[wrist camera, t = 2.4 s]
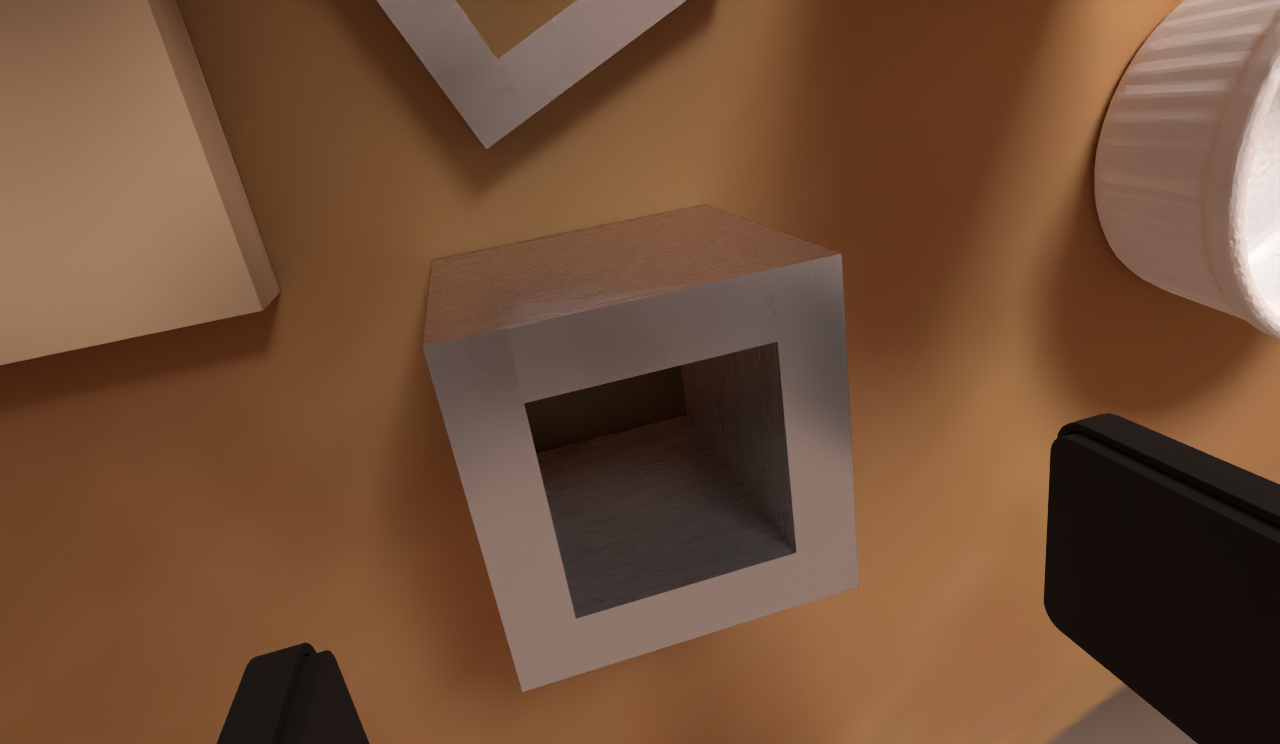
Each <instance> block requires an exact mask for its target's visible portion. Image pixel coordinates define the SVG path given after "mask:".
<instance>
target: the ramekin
mask: <svg viewBox="0 0 1280 744" xmlns="http://www.w3.org/2000/svg"><path fill="white" fill-rule="evenodd" d="M1094 190H1095V202H1096V209H1097V212H1098V217H1099V220H1100V224H1101V227H1102V230H1103V232H1104V235H1105V237H1106V240H1107V242H1108V244H1109V245H1110V247H1111V249H1112V250H1113V252H1114V253H1115V255H1116V256H1117V258H1118V259H1119V260H1120V261H1121V262H1122V263H1123V264H1124V265H1125V266H1126V267H1127V268H1128V269H1129V270H1131V271H1132V272H1133V273H1135V274H1136V275H1137V276H1139V277H1140V278H1141V279H1143V280H1145V281H1147V282H1149V283H1151V284H1153V285H1155V286H1157V287H1159V288H1161V289H1163V290H1165V291H1168V292H1170V293H1172V294H1175V295H1178V296H1181V297H1183V298H1186V299H1189V300H1192V301H1195V302H1197V303H1200V304H1203V305H1205V306H1208V307H1211V308H1214V309H1216V310H1219V311H1222V312H1225V313H1227V314H1230V315H1233V316H1235V317H1238V318H1241V319H1243V320H1245V321H1247V322H1248V323H1250V324H1251V325H1252V326H1254V327H1255V328H1257V329H1258V330H1260V331H1262V332H1263V333H1265V334H1268V335H1270V336H1272V337H1274V338H1276V339H1279V340H1280V0H1184V1H1183V2H1182V3H1181V4H1180V5H1179V6H1178V7H1176V8H1175V9H1174V10H1173V11H1172V12H1171V13H1170V14H1169V15H1167V16H1166V17H1165V19H1164V20H1163V21H1162V22H1161V23H1160V24H1159V25H1158V26H1157V28H1156V29H1155V30H1154V31H1153V32H1152V33H1151V34H1150V35H1149V37H1148V38H1147V40H1146V41H1145V42H1144V44H1143V45H1142V46H1141V48H1140V49H1139V50H1138V52H1137V53H1136V55H1135V57H1134V58H1133V60H1132V62H1131V63H1130V65H1129V66H1128V68H1127V70H1126V72H1125V73H1124V75H1123V77H1122V79H1121V81H1120V83H1119V85H1118V87H1117V89H1116V91H1115V93H1114V96H1113V98H1112V100H1111V102H1110V105H1109V108H1108V111H1107V114H1106V117H1105V120H1104V122H1103V126H1102V130H1101V133H1100V137H1099V142H1098V146H1097V151H1096V159H1095V167H1094Z"/></svg>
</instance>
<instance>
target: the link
mask: <svg viewBox="0 0 1280 744" xmlns="http://www.w3.org/2000/svg"><path fill="white" fill-rule="evenodd" d="M423 351H424V354H425V358H426V361H427V365H428V368H429V372H430V375H431V378H432V382H433V385H434V389H435V392H436V396H437V399H438V403H439V406H440V409H441V413H442V416H443V420H444V423H445V427H446V430H447V434H448V437H449V441H450V444H451V447H452V451H453V454H454V458H455V461H456V465H457V468H458V472H459V475H460V479H461V482H462V485H463V489H464V492H465V496H466V499H467V503H468V506H469V510H470V513H471V516H472V520H473V523H474V527H475V530H476V534H477V537H478V541H479V544H480V548H481V551H482V554H483V558H484V561H485V565H486V568H487V572H488V575H489V579H490V582H491V585H492V589H493V592H494V596H495V599H496V603H497V606H498V610H499V613H500V617H501V620H502V623H503V627H504V630H505V634H506V637H507V641H508V644H509V648H510V651H511V654H512V658H513V661H514V665H515V668H516V672H517V675H518V679H519V682H520V686H521V689H522V692H525V691H528V690H531V689H534V688H538V687H541V686H544V685H547V684H550V683H553V682H557V681H560V680H563V679H566V678H569V677H573V676H576V675H579V674H582V673H585V672H589V671H592V670H595V669H598V668H601V667H605V666H608V665H611V664H614V663H617V662H620V661H624V660H627V659H630V658H633V657H636V656H640V655H643V654H646V653H649V652H652V651H656V650H659V649H662V648H665V647H668V646H671V645H675V644H678V643H681V642H684V641H687V640H691V639H694V638H697V637H700V636H703V635H707V634H710V633H713V632H716V631H719V630H722V629H726V628H729V627H732V626H735V625H738V624H742V623H745V622H748V621H751V620H754V619H758V618H761V617H764V616H767V615H770V614H773V613H777V612H780V611H783V610H786V609H789V608H793V607H796V606H799V605H802V604H805V603H809V602H812V601H815V600H818V599H821V598H824V597H828V596H831V595H834V594H837V593H840V592H844V591H847V590H850V589H853V588H856V587H859V583H858V563H857V544H856V524H855V504H854V485H853V465H852V446H851V426H850V407H849V387H848V368H847V348H846V328H845V309H844V289H843V270H842V254H841V253H838V252H836V251H833V250H830V249H827V248H825V247H822V246H819V245H816V244H813V243H811V242H808V241H805V240H802V239H800V238H797V237H794V236H791V235H789V234H786V233H783V232H780V231H777V230H775V229H772V228H769V227H766V226H764V225H761V224H758V223H755V222H753V221H750V220H747V219H744V218H741V217H739V216H736V215H733V214H730V213H728V212H725V211H722V210H719V209H717V208H714V207H711V206H708V205H702V206H697V207H692V208H687V209H682V210H677V211H672V212H667V213H662V214H658V215H653V216H648V217H643V218H638V219H633V220H628V221H623V222H618V223H613V224H609V225H604V226H599V227H594V228H589V229H584V230H579V231H574V232H569V233H565V234H560V235H555V236H550V237H545V238H540V239H535V240H530V241H525V242H521V243H516V244H511V245H506V246H501V247H496V248H491V249H486V250H481V251H476V252H472V253H467V254H462V255H457V256H452V257H447V258H442V259H437V260H432V268H431V277H430V286H429V295H428V304H427V313H426V322H425V331H424V340H423ZM676 366H681V373H682V380H683V387H684V393H685V400H686V407H687V414H688V415H684V416H680V417H676V418H672V419H669V420H665V421H661V422H657V423H653V424H649V425H645V426H641V427H637V428H633V429H630V430H626V431H622V432H618V433H614V434H610V435H606V436H602V437H598V438H594V439H591V440H587V441H583V442H579V443H575V444H571V445H567V446H563V447H559V448H556V449H552V450H548V451H544V452H540V453H536V451H535V447H534V443H533V438H532V434H531V430H530V426H529V422H528V418H527V413H526V409H525V405H524V403H528V402H532V401H536V400H540V399H544V398H548V397H552V396H556V395H561V394H565V393H569V392H573V391H577V390H581V389H585V388H589V387H593V386H598V385H602V384H606V383H610V382H614V381H618V380H622V379H626V378H630V377H634V376H639V375H643V374H647V373H651V372H655V371H659V370H663V369H667V368H671V367H676Z"/></svg>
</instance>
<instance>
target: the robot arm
mask: <svg viewBox="0 0 1280 744" xmlns="http://www.w3.org/2000/svg"><path fill="white" fill-rule="evenodd" d="M1044 606H1045V609H1046V612H1047V614H1048V616H1049V618H1050V620H1051V621H1052V622H1053V624H1054V625H1055V626H1056V627H1057V628H1058V629H1059V630H1060V631H1061V632H1062V633H1064V634H1065V635H1066V636H1067V637H1069V638H1070V639H1071V640H1072V641H1073V642H1075V643H1076V644H1077V645H1078V646H1080V647H1081V648H1082V649H1083V650H1084V651H1086V652H1087V653H1088V654H1089V655H1091V656H1092V657H1093V658H1094V659H1095V660H1097V661H1098V662H1099V663H1100V664H1101V665H1103V666H1104V667H1105V668H1106V669H1108V670H1109V671H1110V672H1111V673H1112V674H1114V675H1115V676H1116V677H1117V678H1119V679H1120V680H1121V681H1122V682H1123V683H1125V684H1126V685H1127V686H1128V687H1129V688H1131V689H1132V690H1133V691H1134V692H1136V693H1137V694H1138V695H1139V696H1141V697H1142V698H1143V699H1144V700H1145V701H1147V702H1148V703H1149V704H1150V705H1152V706H1153V707H1154V708H1155V709H1156V710H1158V711H1159V712H1160V713H1161V714H1162V715H1164V716H1165V717H1166V718H1167V719H1169V720H1170V721H1171V722H1172V723H1173V724H1175V725H1176V726H1177V727H1178V728H1180V729H1181V730H1182V731H1183V732H1184V733H1186V734H1187V735H1188V736H1189V737H1190V738H1192V739H1193V740H1194V741H1195V742H1196V743H1198V744H1280V485H1279V484H1277V483H1275V482H1272V481H1270V480H1268V479H1265V478H1263V477H1261V476H1258V475H1256V474H1254V473H1251V472H1249V471H1246V470H1244V469H1242V468H1239V467H1237V466H1235V465H1232V464H1230V463H1228V462H1225V461H1223V460H1221V459H1218V458H1216V457H1214V456H1211V455H1209V454H1207V453H1204V452H1202V451H1200V450H1197V449H1195V448H1193V447H1190V446H1188V445H1186V444H1183V443H1181V442H1178V441H1176V440H1174V439H1171V438H1169V437H1167V436H1164V435H1162V434H1160V433H1157V432H1155V431H1153V430H1150V429H1148V428H1146V427H1143V426H1141V425H1139V424H1136V423H1134V422H1132V421H1129V420H1127V419H1125V418H1122V417H1120V416H1118V415H1114V414H1110V413H1107V414H1100V415H1097V416H1093V417H1090V418H1086V419H1083V420H1079V421H1076V422H1072V423H1069V424H1067V425H1065V426H1063V427H1062V428H1061V430H1060V431H1059V433H1058V437H1057V439H1056V440H1055V441H1054V442H1053V444H1052V447H1051V455H1050V477H1049V499H1048V521H1047V543H1046V565H1045V586H1044ZM217 744H369V742H368V739H367V737H366V734H365V732H364V729H363V727H362V724H361V722H360V719H359V716H358V714H357V711H356V709H355V706H354V704H353V701H352V699H351V696H350V694H349V691H348V689H347V686H346V684H345V681H344V679H343V676H342V674H341V671H340V669H339V666H338V664H337V661H336V659H335V657H334V655H333V654H332V652H331V651H328V650H326V651H323V652H319V653H316V651H315V649H314V648H313V647H312V646H311V645H310V644H309V643H302V644H299V645H295V646H292V647H289V648H285V649H282V650H278V651H275V652H271V653H268V654H264V655H261V656H257V657H254V658H253V659H251V660H250V662H249V663H248V665H247V667H246V669H245V672H244V674H243V677H242V680H241V682H240V685H239V687H238V690H237V693H236V695H235V698H234V700H233V703H232V706H231V708H230V711H229V713H228V716H227V719H226V721H225V724H224V726H223V729H222V731H221V734H220V737H219V739H218V742H217Z"/></svg>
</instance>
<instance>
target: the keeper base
mask: <svg viewBox="0 0 1280 744" xmlns="http://www.w3.org/2000/svg"><path fill="white" fill-rule="evenodd" d="M280 292H281V291H280V288H279V285H278V283H277V280H276V277H275V274H274V271H273V269H272V266H271V263H270V260H269V258H268V255H267V252H266V249H265V246H264V244H263V241H262V238H261V235H260V232H259V230H258V227H257V224H256V221H255V218H254V216H253V213H252V210H251V207H250V205H249V202H248V199H247V196H246V193H245V191H244V188H243V185H242V182H241V179H240V177H239V174H238V171H237V168H236V165H235V163H234V160H233V157H232V154H231V151H230V149H229V146H228V143H227V140H226V138H225V135H224V132H223V129H222V126H221V124H220V121H219V118H218V115H217V112H216V110H215V107H214V104H213V101H212V98H211V96H210V93H209V90H208V87H207V85H206V82H205V79H204V76H203V73H202V71H201V68H200V65H199V62H198V59H197V57H196V54H195V51H194V48H193V45H192V43H191V40H190V37H189V34H188V31H187V29H186V26H185V23H184V20H183V18H182V15H181V12H180V9H179V6H178V4H177V1H176V0H0V365H4V364H8V363H13V362H18V361H23V360H28V359H32V358H37V357H42V356H47V355H52V354H57V353H61V352H66V351H71V350H76V349H81V348H85V347H90V346H95V345H100V344H105V343H109V342H114V341H119V340H124V339H129V338H133V337H138V336H143V335H148V334H153V333H158V332H162V331H167V330H172V329H177V328H182V327H186V326H191V325H196V324H201V323H206V322H210V321H215V320H220V319H225V318H230V317H235V316H239V315H244V314H249V313H254V312H259V311H263V310H264V309H265V308H266V307H267V306H268V305H269V304H270V302H271V301H272V300H273V299H274V298H275V297H276V296H277V295H278V294H279V293H280Z"/></svg>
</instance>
